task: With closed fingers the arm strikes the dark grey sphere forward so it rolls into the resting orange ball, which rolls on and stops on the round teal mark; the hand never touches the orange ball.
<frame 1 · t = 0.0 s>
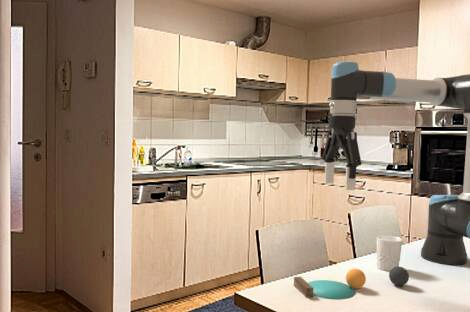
hand: (339, 186, 136), 28 cm above the table, tool pointing down, fingers open, 13 cm apart
dark grey sphere: (398, 276, 133), on the table
white cup: (387, 268, 149), on the table
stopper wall: (303, 291, 126), on the table
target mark: (329, 289, 128), on the table
object ball: (355, 278, 130), on the table
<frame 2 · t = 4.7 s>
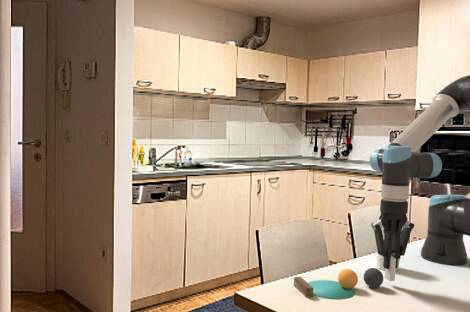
hand: (389, 279, 132), 2 cm above the table, tool pointing down, fingers closed
dark grey sphere: (373, 277, 131), on the table
object ball: (347, 278, 129), on the table
everything else where it was.
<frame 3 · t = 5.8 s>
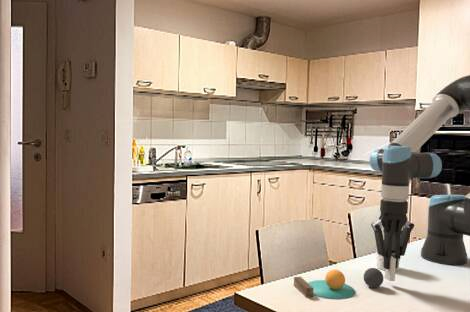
hand: (389, 279, 132), 2 cm above the table, tool pointing down, fingers closed
object ball: (335, 279, 128), on the table
everything else where it was.
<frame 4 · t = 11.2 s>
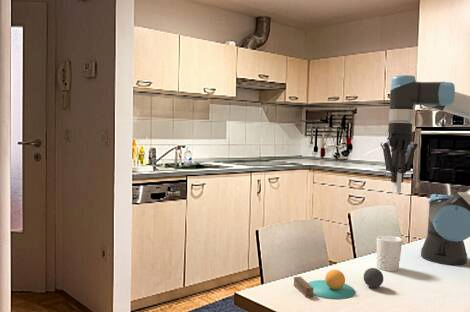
hand: (396, 192, 154), 24 cm above the table, tool pointing down, fingers closed
nothing on the table moved.
at the end: object ball 1.6 cm from the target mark (horizontally); object ball never touched the robot; dark grey sphere first touched object ball at 4.4 s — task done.
